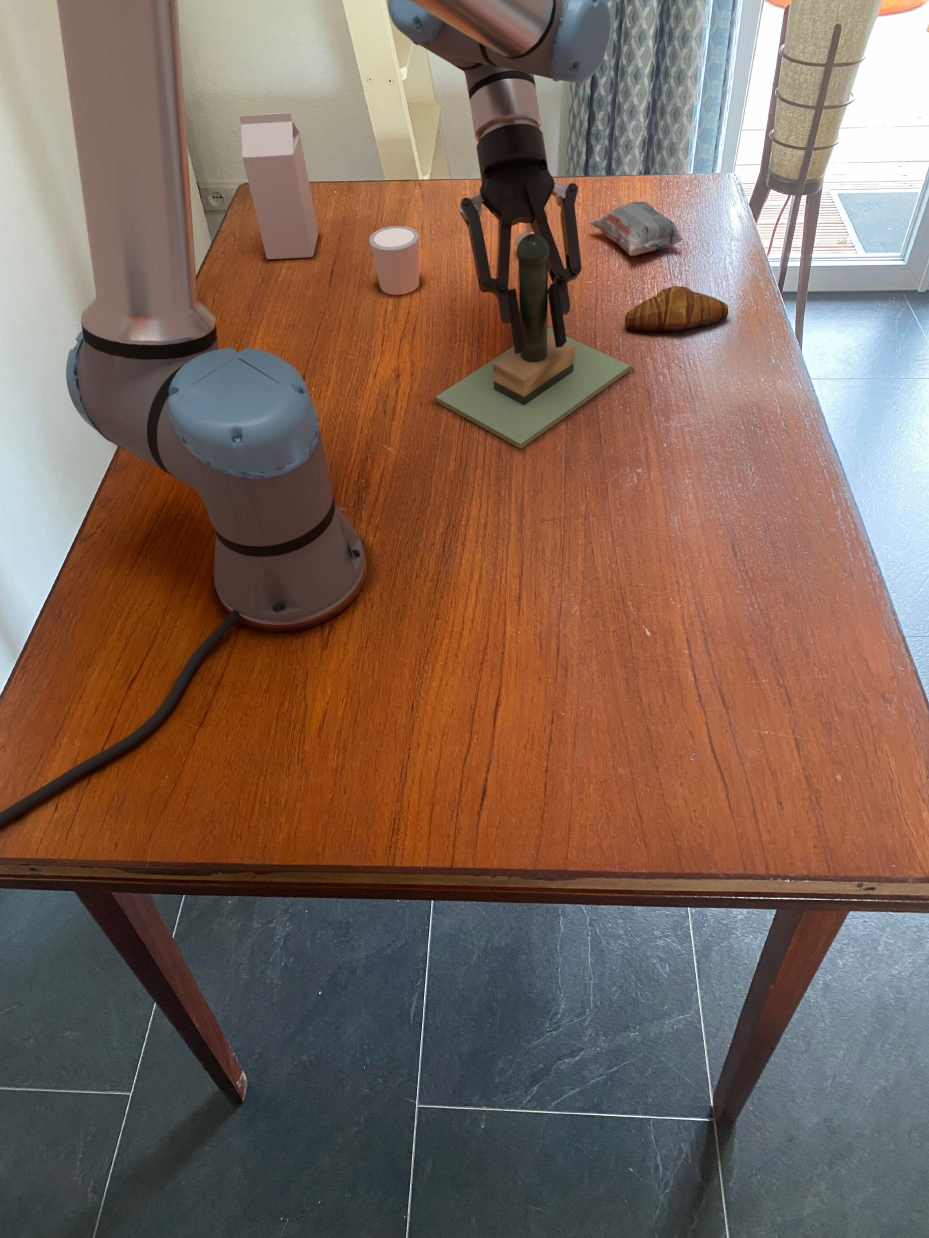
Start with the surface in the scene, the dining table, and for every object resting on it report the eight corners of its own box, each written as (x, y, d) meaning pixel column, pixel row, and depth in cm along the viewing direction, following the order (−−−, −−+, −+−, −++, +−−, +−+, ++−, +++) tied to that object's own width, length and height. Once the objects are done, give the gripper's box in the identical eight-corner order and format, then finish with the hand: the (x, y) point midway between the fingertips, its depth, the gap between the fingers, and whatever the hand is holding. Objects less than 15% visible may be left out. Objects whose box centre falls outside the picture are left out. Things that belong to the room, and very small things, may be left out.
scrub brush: (524, 405, 108) (522, 260, 94) (493, 389, 110) (487, 245, 96) (573, 371, 111) (578, 226, 98) (543, 356, 114) (543, 213, 100)
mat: (520, 449, 103) (520, 444, 103) (435, 402, 110) (435, 396, 110) (630, 370, 112) (630, 365, 111) (544, 331, 119) (544, 325, 118)
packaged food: (629, 270, 128) (632, 235, 124) (588, 235, 135) (590, 201, 131) (682, 255, 130) (686, 221, 126) (639, 221, 137) (642, 188, 133)
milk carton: (313, 258, 136) (287, 123, 121) (266, 260, 136) (234, 126, 122) (319, 235, 140) (294, 102, 126) (273, 237, 141) (243, 105, 126)
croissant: (719, 305, 120) (725, 269, 117) (733, 332, 116) (740, 296, 112) (618, 315, 120) (621, 280, 117) (629, 343, 116) (632, 308, 112)
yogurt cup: (432, 278, 130) (428, 231, 124) (405, 301, 126) (399, 253, 121) (394, 268, 132) (388, 221, 127) (366, 290, 129) (358, 242, 123)
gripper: (577, 141, 105) (606, 344, 107) (431, 161, 104) (463, 365, 106) (590, 110, 98) (622, 328, 100) (434, 131, 97) (468, 351, 99)
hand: (540, 347), depth 103 cm, fingers open, 4 cm apart
